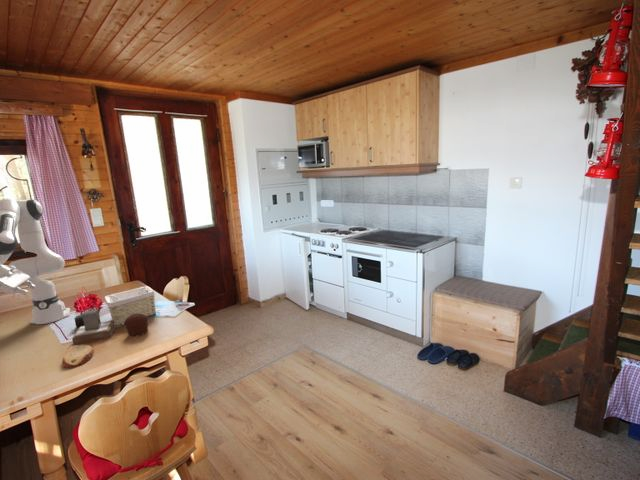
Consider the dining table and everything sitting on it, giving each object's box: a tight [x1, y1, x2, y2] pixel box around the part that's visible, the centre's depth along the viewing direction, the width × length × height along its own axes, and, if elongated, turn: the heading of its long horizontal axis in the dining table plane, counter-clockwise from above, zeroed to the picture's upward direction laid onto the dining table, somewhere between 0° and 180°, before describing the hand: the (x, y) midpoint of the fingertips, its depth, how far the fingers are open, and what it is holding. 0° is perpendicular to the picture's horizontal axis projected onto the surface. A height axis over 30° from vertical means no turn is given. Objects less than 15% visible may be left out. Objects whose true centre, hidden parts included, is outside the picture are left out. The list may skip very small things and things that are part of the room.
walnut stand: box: [71, 320, 116, 346], centre depth 176 cm, size 14×16×5 cm
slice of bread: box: [62, 343, 95, 369], centre depth 156 cm, size 18×18×4 cm
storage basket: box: [104, 285, 157, 327], centre depth 197 cm, size 24×16×15 cm
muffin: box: [123, 313, 150, 338], centre depth 176 cm, size 12×11×10 cm
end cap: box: [74, 314, 84, 329], centre depth 190 cm, size 10×7×7 cm
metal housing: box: [81, 308, 102, 331], centre depth 175 cm, size 5×6×9 cm
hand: (30, 290), depth 164 cm, fingers open, 8 cm apart
